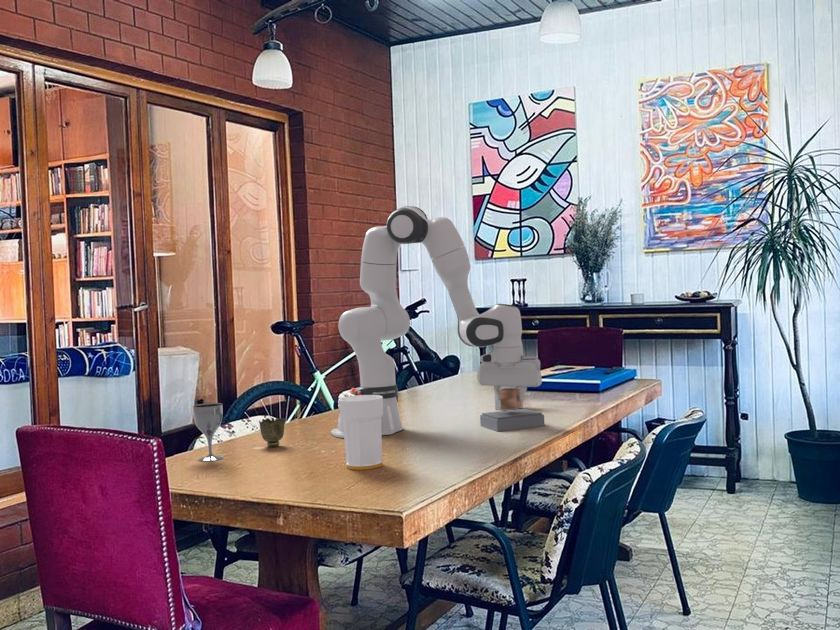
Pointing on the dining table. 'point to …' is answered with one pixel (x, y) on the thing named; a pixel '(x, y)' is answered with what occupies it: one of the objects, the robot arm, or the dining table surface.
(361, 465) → the cup
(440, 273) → the robot arm
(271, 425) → the cup
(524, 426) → the plinth
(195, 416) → the wine glass
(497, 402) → the supplement box
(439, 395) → the dining table surface
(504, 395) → the terracotta block
